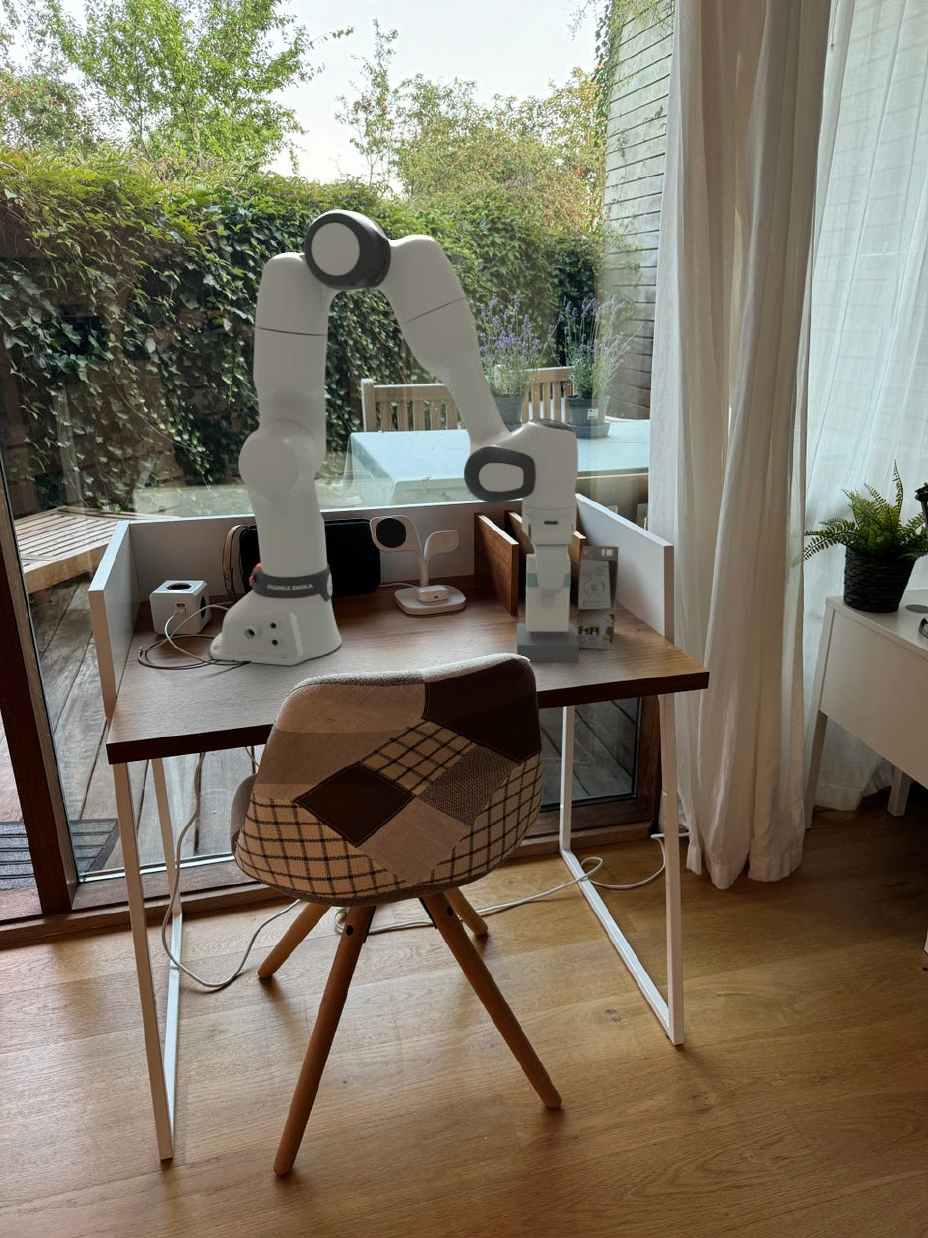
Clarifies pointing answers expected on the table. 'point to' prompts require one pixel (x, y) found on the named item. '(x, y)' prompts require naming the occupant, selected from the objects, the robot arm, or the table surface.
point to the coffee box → (597, 597)
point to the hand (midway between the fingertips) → (546, 600)
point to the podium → (547, 645)
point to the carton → (535, 611)
